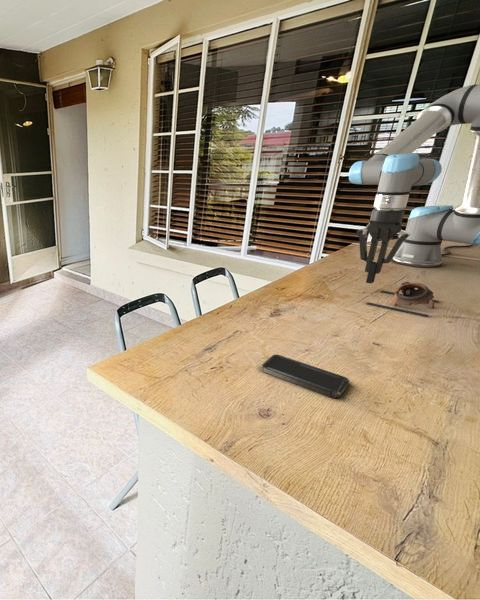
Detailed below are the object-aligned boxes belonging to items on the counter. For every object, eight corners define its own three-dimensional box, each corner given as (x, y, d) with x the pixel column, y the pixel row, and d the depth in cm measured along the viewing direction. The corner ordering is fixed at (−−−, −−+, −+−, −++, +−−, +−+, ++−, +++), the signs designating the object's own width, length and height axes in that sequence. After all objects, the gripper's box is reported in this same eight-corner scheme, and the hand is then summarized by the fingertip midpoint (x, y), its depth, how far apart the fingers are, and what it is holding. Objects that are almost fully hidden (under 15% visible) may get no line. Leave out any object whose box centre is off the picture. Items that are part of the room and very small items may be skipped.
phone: (339, 395, 68) (260, 366, 79) (338, 400, 68) (259, 370, 79) (351, 378, 73) (275, 353, 83) (349, 383, 73) (274, 357, 84)
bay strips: (381, 291, 119) (382, 290, 119) (438, 301, 109) (438, 300, 108) (366, 304, 110) (366, 303, 110) (427, 317, 99) (427, 316, 99)
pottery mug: (444, 313, 102) (441, 293, 98) (403, 323, 106) (399, 304, 103) (420, 290, 111) (416, 270, 108) (384, 300, 115) (379, 281, 112)
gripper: (358, 209, 108) (342, 280, 117) (414, 211, 99) (392, 289, 107) (366, 206, 113) (349, 275, 121) (420, 208, 103) (398, 283, 112)
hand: (369, 282), depth 114 cm, fingers closed
